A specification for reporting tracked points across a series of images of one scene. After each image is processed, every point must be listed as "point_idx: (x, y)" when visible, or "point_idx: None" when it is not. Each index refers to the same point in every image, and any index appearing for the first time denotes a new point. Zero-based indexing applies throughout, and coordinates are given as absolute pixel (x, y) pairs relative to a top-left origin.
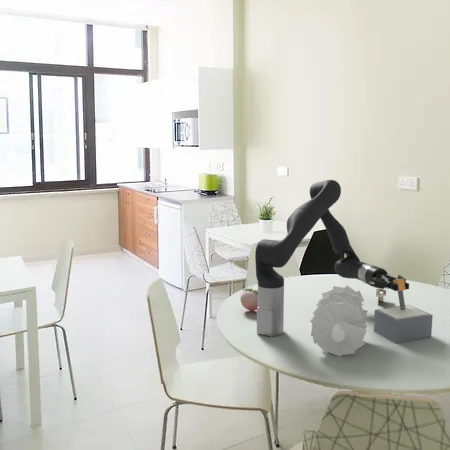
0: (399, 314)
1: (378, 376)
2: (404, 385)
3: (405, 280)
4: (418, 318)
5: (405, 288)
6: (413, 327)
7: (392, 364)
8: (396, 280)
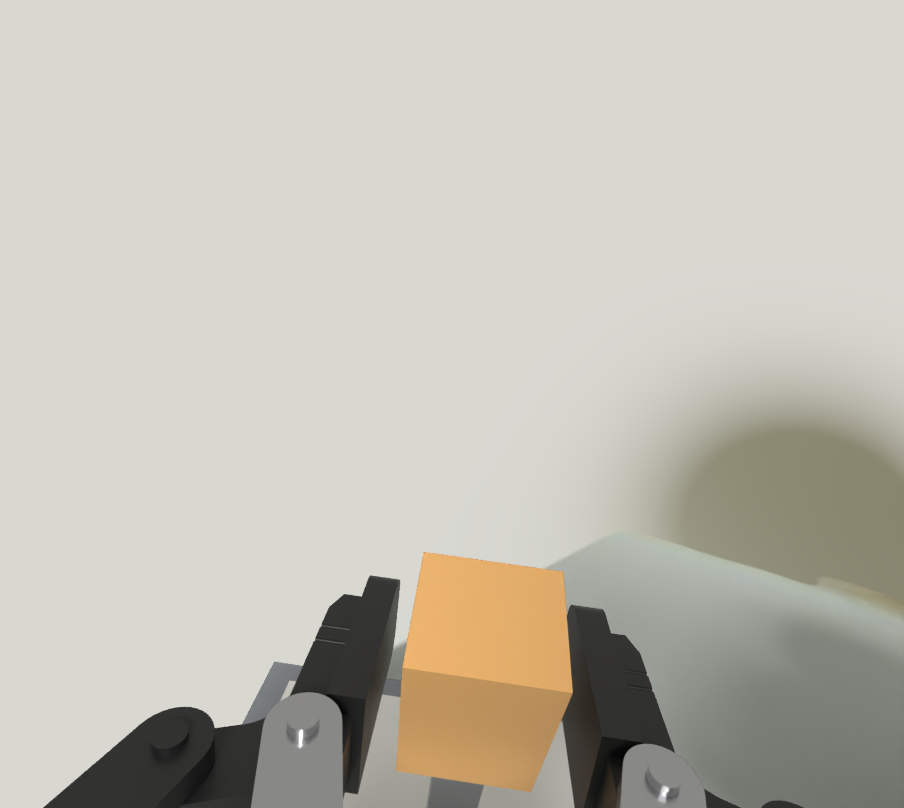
0: (537, 800)
1: (830, 636)
2: (744, 572)
3: (186, 722)
4: None
5: (386, 671)
6: None
7: (739, 670)
8: (560, 605)
